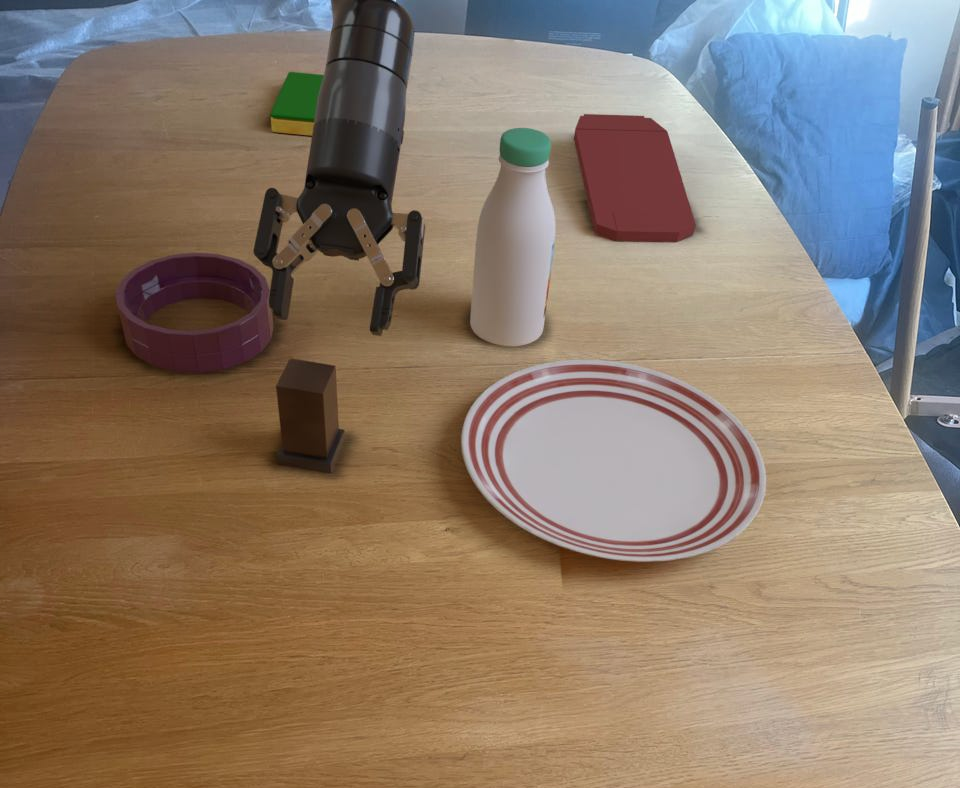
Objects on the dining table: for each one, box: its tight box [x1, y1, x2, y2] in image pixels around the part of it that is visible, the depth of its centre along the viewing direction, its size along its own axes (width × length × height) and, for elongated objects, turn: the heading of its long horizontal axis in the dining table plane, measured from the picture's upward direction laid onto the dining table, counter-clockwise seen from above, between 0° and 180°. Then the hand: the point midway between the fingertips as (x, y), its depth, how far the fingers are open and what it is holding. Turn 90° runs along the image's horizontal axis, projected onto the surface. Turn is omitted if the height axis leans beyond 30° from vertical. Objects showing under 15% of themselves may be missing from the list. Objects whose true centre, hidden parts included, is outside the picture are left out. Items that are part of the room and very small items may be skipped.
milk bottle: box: [469, 127, 556, 347], centre depth 97 cm, size 8×8×20 cm
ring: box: [115, 252, 274, 374], centre depth 98 cm, size 14×14×5 cm
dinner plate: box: [460, 358, 767, 563], centre depth 90 cm, size 28×27×3 cm
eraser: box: [275, 357, 346, 474], centre depth 86 cm, size 5×5×9 cm
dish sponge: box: [269, 71, 324, 137], centre depth 133 cm, size 7×14×2 cm, turn 177°
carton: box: [573, 113, 697, 243], centre depth 126 cm, size 12×5×25 cm
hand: (328, 325), depth 87 cm, fingers open, 8 cm apart
